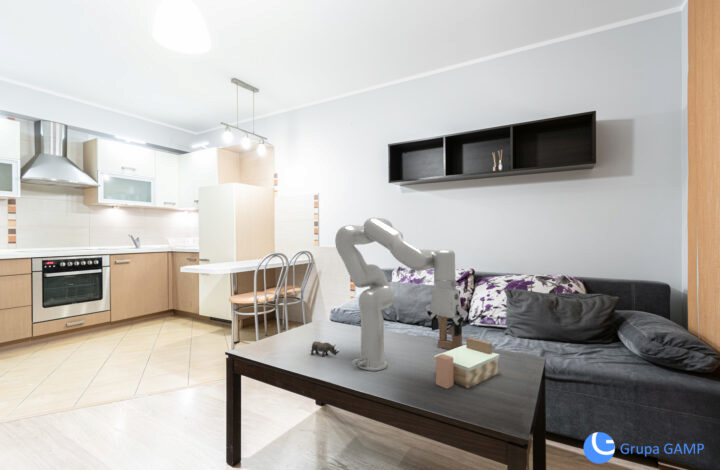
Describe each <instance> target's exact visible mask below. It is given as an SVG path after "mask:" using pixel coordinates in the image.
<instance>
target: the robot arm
mask: <svg viewBox="0 0 720 470" xmlns="http://www.w3.org/2000/svg"><path fill="white" fill-rule="evenodd" d="M334 243H335V248H336V250H337V253H338V255H339V256H340V258H341V260H342V262H343V264H344V266H345V268H346V270H347V272H348V275H349V277H350V279H351V282H352V283H353V284H354V287H356V288H359V289H363V288H367V289H365V290H363V291H362V292H361V293H360V295H359V297H358V307H359V312H360V353H359V354H358V357H357V358H354V359H352V360H351V365H353V366H354V365H357V366H358V368H359V369H362V370H365V371H372V372H373V371H374V372H375V371H376V372H377V371H381V370H384V369H386V368H387V367H388V365H389V362H388V361H387V359H385V321H384V316H383V313H382V310H383V309H387V308H389V307H390V306H392V304H394V300H395V296H394V294H395V293H394V292H393V289H392V287H391V284H390V283H389V281H388V278H387V277H386V276H385V273H384V271H383V270H382V269H381V268H380V267H379V266H378V265H377V264H367V262H366V260H365V258H364V256H363V255H362V253H361V252H360V250H359V249H358V248H357V247H356V246H355V245H357V246H358V245H360V246H361V245H368V244H371V243H378V244H379V245H381V246H383V247H384V248H385V249H387V250H388V251H389V252H390V254H391V256H393V257H394V259H396V260H397V261H398V262H399V263H400V264H402V265H404V266H406V267H407V268H408V269H411V270H413V271H418V272H420V271H421V272H422V271H426V270H432V269H433V285H434V286H433V287H432V292H431V301H430V302H431V303H429V304H426V305H425V307H424V308H425V310H426V314H427V315H428V316H429V320H430V324H431V325H430V327H431V331H432V332H433V331H437V330H439V316H442V317H447V319H452V320H453V322H454V325H453V326H454V335H455V336H459V335H461V324H462V325H463V323H464V322H465V321H466V318H467V317H468V315H469V314H468V311H467V310H465V309H464V308H462V304H461V296H460V291H459V288H457V287H459V282H457V281H456V279H457V276H456V254H455V252H454V251H453V250H451V249H437V250H435V249H418V248H416V247H414V246H412V245H411V244H409V243H407V242H406V241H405V240H404V235H403V232H401V231H400V230H398V229H396V228H394V227H393V224H392V222H391V221H390V220H389V219H386V218H380V217H371V218H370V217H369V218H368V219H366V220H365V221H364V223H363V225H357V224H356V225H354V224H353V225H351V224H349V225H344V226H341V227H340V228H339V229H338V230H337V232H336V234H335V239H334Z"/></svg>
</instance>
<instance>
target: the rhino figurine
mask: <svg viewBox="0 0 720 470" xmlns="http://www.w3.org/2000/svg"><path fill="white" fill-rule="evenodd" d="M336 345H337V344H334V345H332V344H331V343H330V342H321V341H313V342H312V344H311V350H310V355H311V356H314V355H315V354H317V355H318V354H320V353H322V354H321V357H322V358H325V357H326V356H330V354H332V355H334V356H336V355H337V354H338V353H339V352H340V350H337V349H335V347H336ZM314 352H315V354H314ZM329 352H330V353H329Z"/></svg>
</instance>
